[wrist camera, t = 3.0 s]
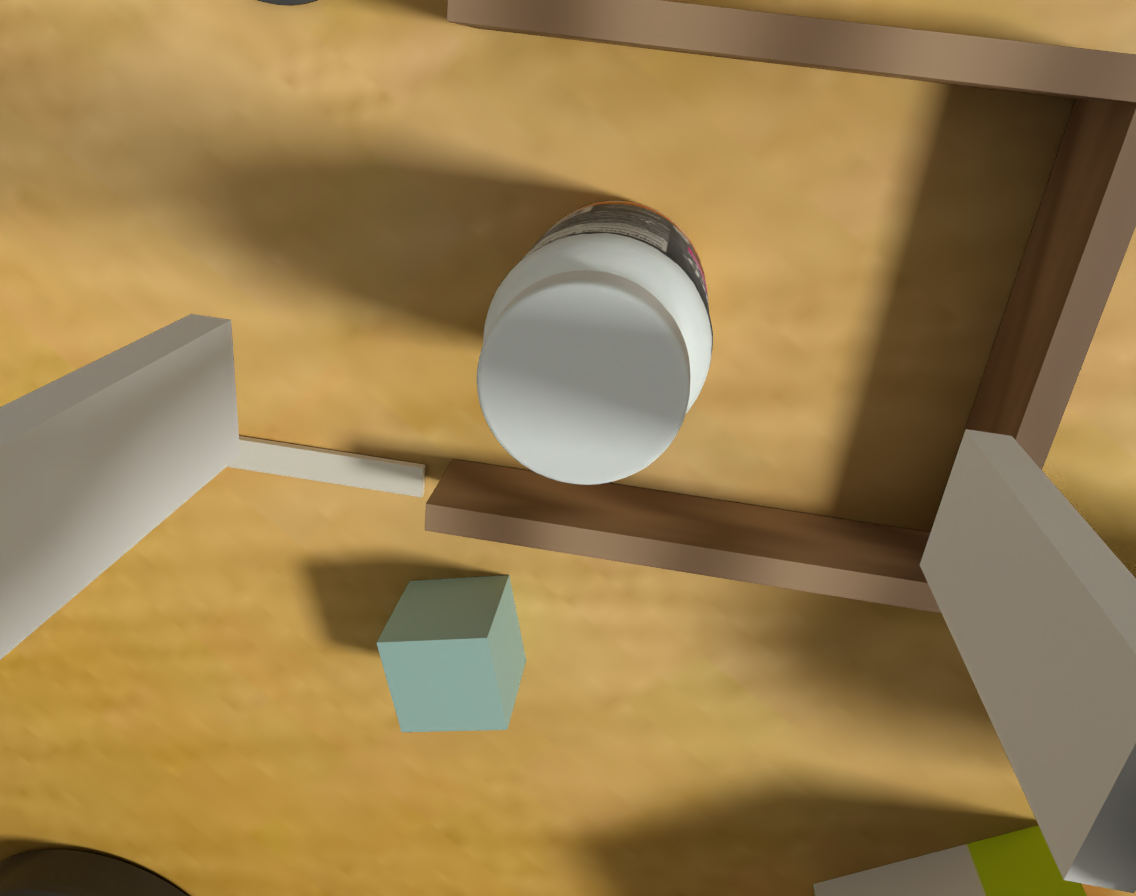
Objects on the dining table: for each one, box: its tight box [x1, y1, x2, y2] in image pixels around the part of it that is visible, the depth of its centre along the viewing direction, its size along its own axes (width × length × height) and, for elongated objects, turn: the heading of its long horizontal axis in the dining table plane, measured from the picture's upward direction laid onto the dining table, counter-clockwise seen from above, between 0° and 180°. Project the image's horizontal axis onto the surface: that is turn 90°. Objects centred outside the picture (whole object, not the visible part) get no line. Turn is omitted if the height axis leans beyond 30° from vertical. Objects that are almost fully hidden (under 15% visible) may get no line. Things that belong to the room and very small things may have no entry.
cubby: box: [425, 0, 1136, 613], centre depth 25 cm, size 18×16×4 cm
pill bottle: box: [477, 201, 713, 485], centre depth 23 cm, size 6×6×10 cm
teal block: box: [376, 575, 526, 732], centre depth 31 cm, size 4×4×4 cm
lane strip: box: [227, 436, 425, 497], centre depth 31 cm, size 12×1×1 cm, turn 84°
